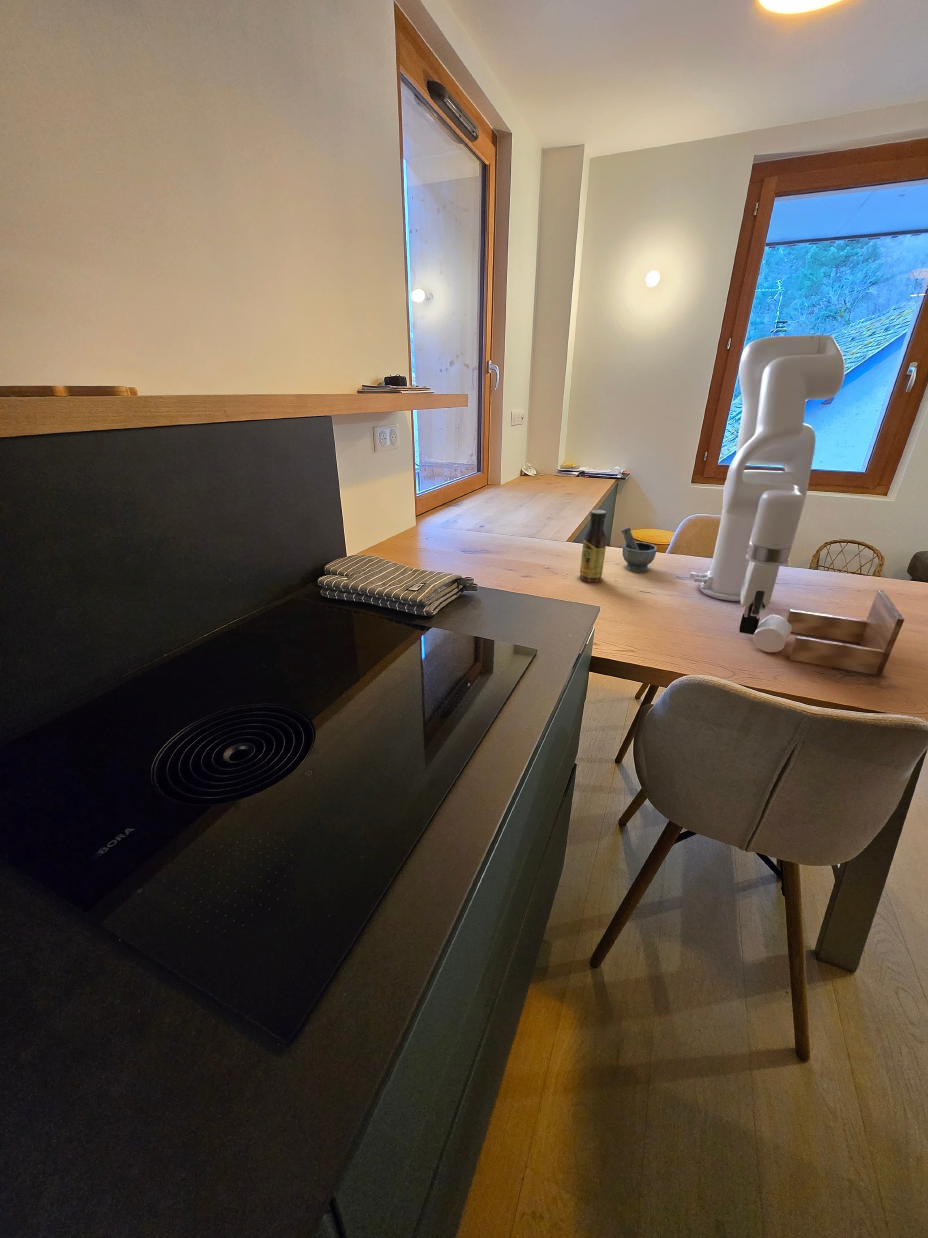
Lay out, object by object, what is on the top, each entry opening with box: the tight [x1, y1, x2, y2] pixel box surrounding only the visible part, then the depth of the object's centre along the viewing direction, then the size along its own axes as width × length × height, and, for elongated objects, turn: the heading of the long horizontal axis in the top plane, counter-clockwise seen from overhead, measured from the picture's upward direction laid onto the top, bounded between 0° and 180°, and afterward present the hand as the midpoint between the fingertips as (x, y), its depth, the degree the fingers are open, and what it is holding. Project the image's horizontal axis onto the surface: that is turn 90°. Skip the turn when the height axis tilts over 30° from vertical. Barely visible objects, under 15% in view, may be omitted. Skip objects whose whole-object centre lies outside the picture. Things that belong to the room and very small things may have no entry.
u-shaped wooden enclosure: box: [785, 589, 905, 677], centre depth 100 cm, size 15×15×12 cm
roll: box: [752, 614, 792, 653], centre depth 106 cm, size 6×12×6 cm, turn 141°
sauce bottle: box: [579, 509, 608, 583], centre depth 137 cm, size 6×6×20 cm
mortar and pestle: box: [620, 526, 658, 573], centre depth 147 cm, size 11×9×12 cm
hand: (747, 632), depth 108 cm, fingers closed
